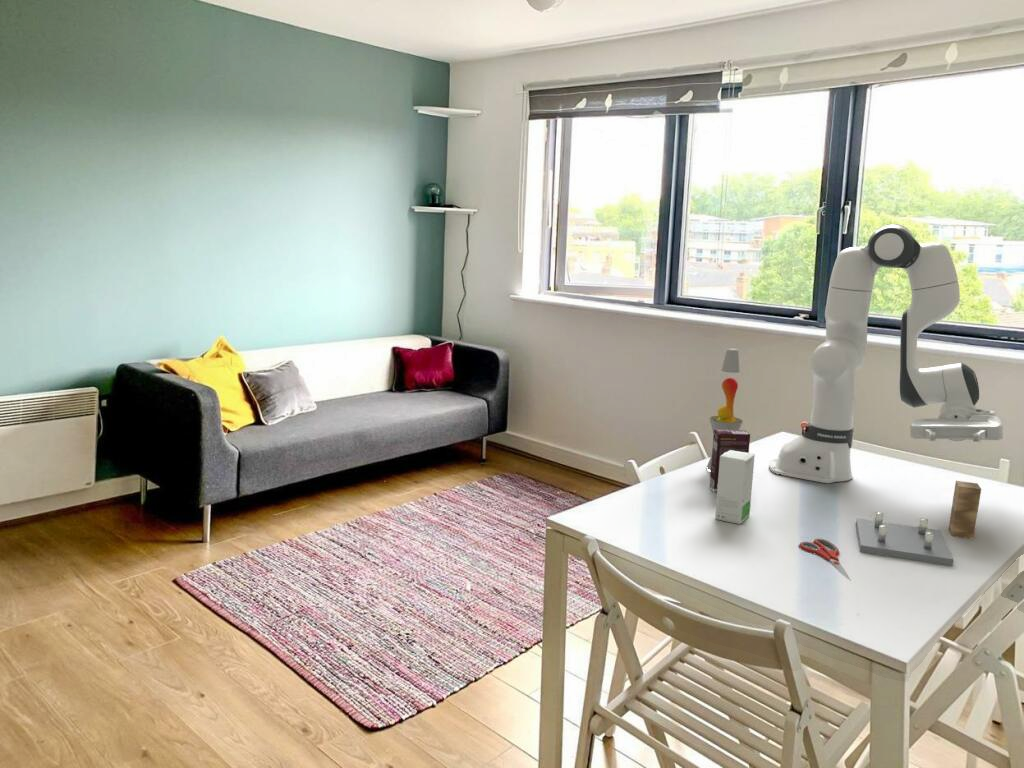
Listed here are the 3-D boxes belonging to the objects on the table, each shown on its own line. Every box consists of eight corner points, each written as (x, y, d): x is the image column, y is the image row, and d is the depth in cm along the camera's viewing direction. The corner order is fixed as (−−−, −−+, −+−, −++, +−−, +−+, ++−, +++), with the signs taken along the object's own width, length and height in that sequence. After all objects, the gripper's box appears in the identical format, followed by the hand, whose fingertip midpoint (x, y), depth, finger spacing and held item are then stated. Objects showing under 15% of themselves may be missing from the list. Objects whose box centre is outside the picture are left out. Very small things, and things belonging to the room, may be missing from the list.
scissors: (850, 587, 162) (851, 580, 161) (793, 545, 182) (793, 539, 182) (884, 584, 163) (885, 577, 163) (824, 543, 183) (824, 537, 183)
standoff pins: (877, 542, 180) (879, 527, 180) (873, 525, 190) (875, 511, 190) (931, 550, 177) (934, 534, 176) (925, 533, 187) (927, 518, 186)
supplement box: (740, 487, 220) (745, 429, 216) (745, 493, 215) (751, 434, 212) (708, 486, 219) (713, 428, 216) (712, 492, 215) (718, 433, 211)
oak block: (951, 535, 190) (959, 486, 188) (948, 529, 194) (955, 480, 192) (973, 538, 189) (981, 489, 186) (969, 532, 193) (977, 483, 190)
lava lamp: (715, 463, 240) (726, 345, 233) (743, 471, 234) (755, 349, 227) (699, 469, 234) (709, 348, 227) (727, 477, 228) (739, 352, 221)
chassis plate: (860, 551, 178) (860, 545, 178) (855, 524, 195) (856, 518, 195) (952, 566, 173) (953, 559, 172) (939, 536, 189) (940, 530, 189)
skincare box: (740, 525, 191) (746, 461, 188) (712, 519, 195) (718, 455, 192) (750, 515, 198) (756, 453, 195) (723, 509, 202) (729, 448, 199)
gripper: (911, 410, 215) (906, 425, 203) (1002, 411, 204) (1002, 426, 193) (912, 434, 216) (907, 449, 204) (1002, 435, 205) (1003, 452, 194)
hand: (954, 438), depth 198 cm, fingers open, 8 cm apart
